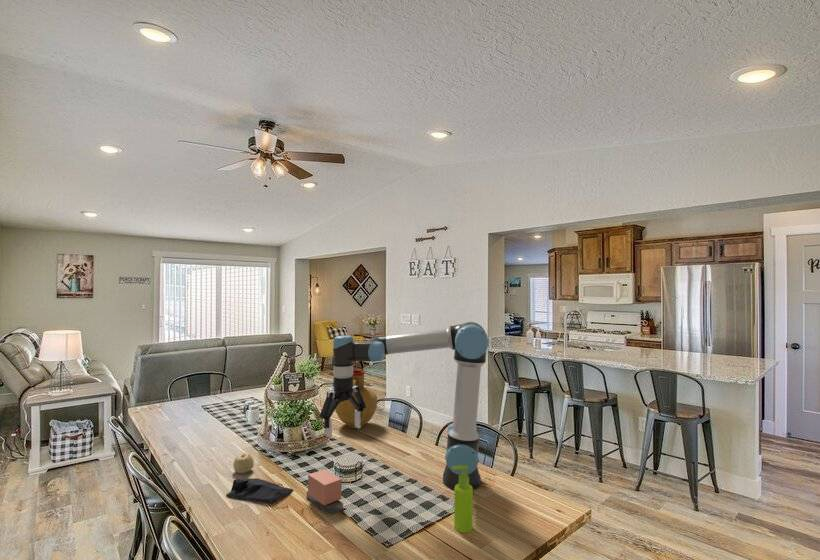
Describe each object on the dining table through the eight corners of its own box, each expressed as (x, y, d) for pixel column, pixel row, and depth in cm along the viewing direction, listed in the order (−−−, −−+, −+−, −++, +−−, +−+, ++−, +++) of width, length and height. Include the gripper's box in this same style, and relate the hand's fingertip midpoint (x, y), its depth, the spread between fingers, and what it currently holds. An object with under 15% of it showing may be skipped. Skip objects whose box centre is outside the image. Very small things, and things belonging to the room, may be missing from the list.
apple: (257, 466, 185) (257, 454, 181) (244, 481, 178) (244, 469, 174) (243, 458, 187) (242, 446, 183) (229, 472, 180) (228, 460, 177)
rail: (343, 509, 151) (343, 503, 151) (330, 514, 148) (330, 508, 148) (318, 492, 163) (318, 487, 163) (306, 497, 160) (306, 491, 160)
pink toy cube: (341, 505, 154) (341, 479, 154) (324, 512, 149) (324, 485, 149) (324, 494, 162) (324, 469, 162) (307, 500, 157) (308, 474, 157)
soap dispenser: (449, 523, 144) (450, 462, 144) (470, 522, 144) (470, 462, 145) (452, 533, 138) (453, 470, 138) (474, 532, 139) (474, 469, 139)
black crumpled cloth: (268, 510, 151) (268, 496, 151) (222, 497, 160) (222, 484, 160) (296, 491, 165) (297, 478, 165) (252, 480, 174) (252, 468, 174)
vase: (375, 433, 228) (375, 376, 228) (329, 432, 228) (330, 375, 228) (378, 419, 251) (379, 367, 252) (337, 418, 252) (338, 367, 252)
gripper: (362, 370, 178) (362, 421, 178) (309, 380, 160) (310, 437, 160) (374, 372, 173) (374, 426, 172) (321, 383, 155) (321, 442, 155)
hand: (343, 431), depth 166 cm, fingers open, 13 cm apart
